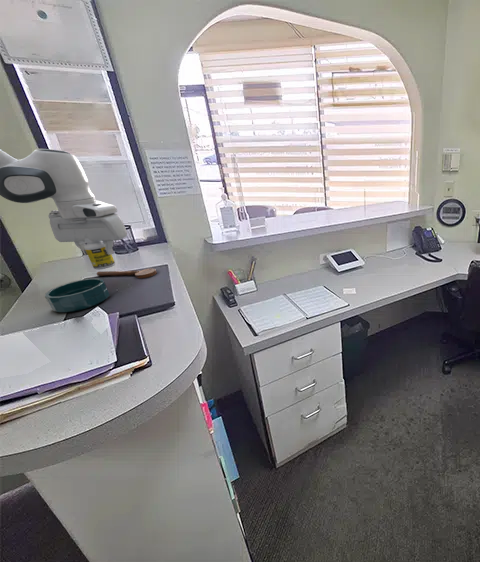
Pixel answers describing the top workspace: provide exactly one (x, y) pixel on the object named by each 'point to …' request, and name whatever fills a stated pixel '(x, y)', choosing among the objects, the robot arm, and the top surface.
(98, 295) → the bowl
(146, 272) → the spoon
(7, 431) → the top surface
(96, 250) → the supplement bottle
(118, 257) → the top surface
